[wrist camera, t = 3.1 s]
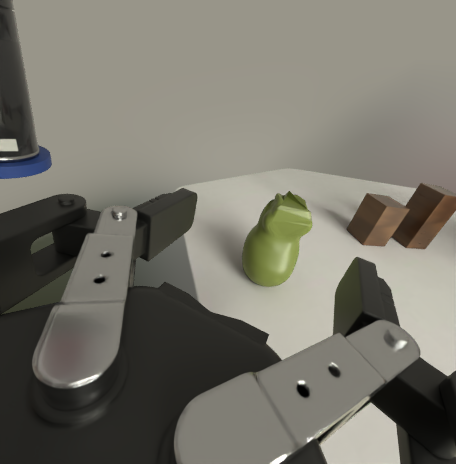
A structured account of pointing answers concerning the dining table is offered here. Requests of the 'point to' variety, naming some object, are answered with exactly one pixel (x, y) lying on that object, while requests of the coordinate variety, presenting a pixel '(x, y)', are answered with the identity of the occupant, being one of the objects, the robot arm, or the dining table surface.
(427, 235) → the block far
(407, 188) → the dining table surface
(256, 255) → the olive green lumpy piece
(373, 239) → the block near
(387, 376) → the robot arm
